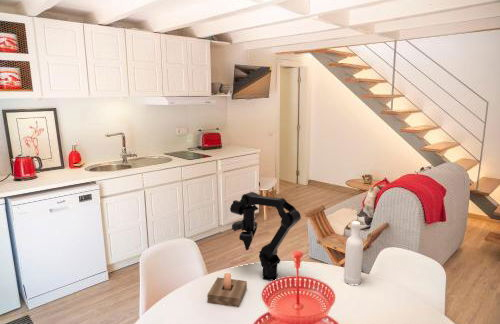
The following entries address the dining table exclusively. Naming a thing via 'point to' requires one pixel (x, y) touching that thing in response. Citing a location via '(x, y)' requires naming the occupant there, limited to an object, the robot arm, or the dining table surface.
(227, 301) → the hole block
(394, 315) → the dining table surface
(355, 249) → the bottle
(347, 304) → the dining table surface
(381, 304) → the dining table surface
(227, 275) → the peg
